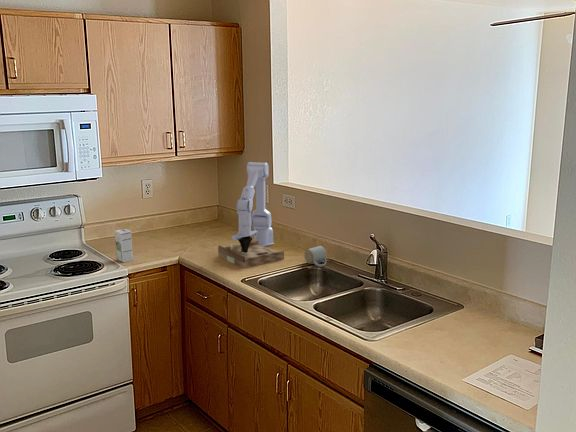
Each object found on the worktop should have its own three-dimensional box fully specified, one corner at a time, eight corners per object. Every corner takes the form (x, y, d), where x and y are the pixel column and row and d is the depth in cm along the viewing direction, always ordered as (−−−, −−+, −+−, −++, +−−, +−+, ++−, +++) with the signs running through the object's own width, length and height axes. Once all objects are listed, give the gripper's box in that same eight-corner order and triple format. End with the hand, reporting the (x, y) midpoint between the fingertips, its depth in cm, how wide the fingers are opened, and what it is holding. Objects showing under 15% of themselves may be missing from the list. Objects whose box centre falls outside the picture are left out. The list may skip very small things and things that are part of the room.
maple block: (239, 252, 274) (239, 243, 273) (241, 255, 270) (240, 246, 269) (230, 253, 273) (229, 244, 272) (231, 256, 269) (231, 246, 268)
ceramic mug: (303, 262, 268) (303, 246, 267) (317, 259, 273) (317, 244, 271) (316, 268, 260) (316, 252, 258) (330, 265, 264) (331, 249, 262)
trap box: (257, 248, 290) (257, 238, 289) (284, 258, 273) (284, 247, 272) (218, 256, 277) (218, 245, 275) (243, 268, 260) (243, 256, 258)
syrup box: (133, 260, 271) (131, 230, 267) (122, 262, 267) (120, 232, 263) (127, 257, 275) (125, 228, 271) (116, 260, 271) (114, 230, 267)
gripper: (250, 220, 277) (250, 247, 280) (227, 225, 267) (227, 253, 270) (260, 222, 272) (260, 250, 275) (237, 228, 262) (237, 256, 265)
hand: (245, 252), depth 272 cm, fingers closed
